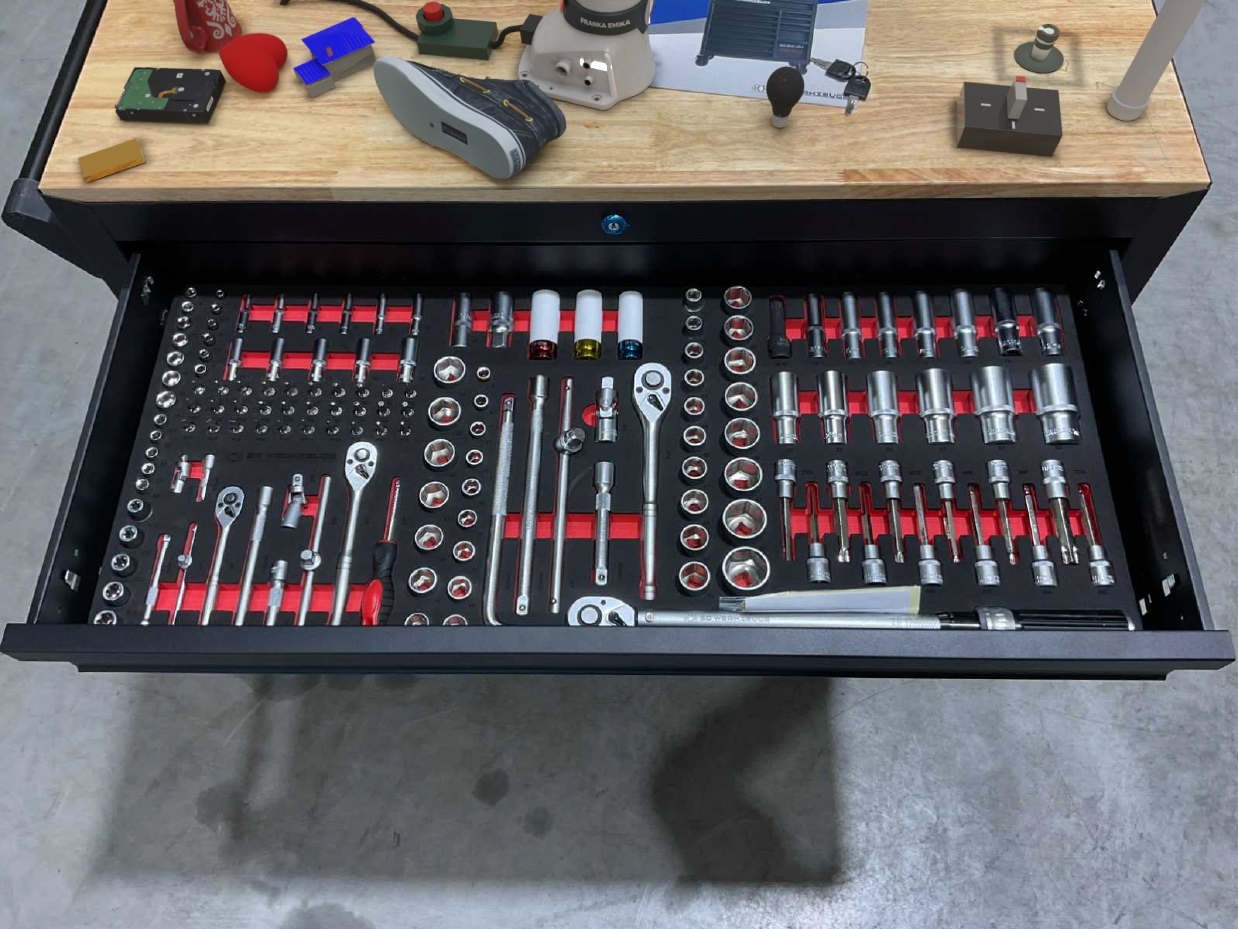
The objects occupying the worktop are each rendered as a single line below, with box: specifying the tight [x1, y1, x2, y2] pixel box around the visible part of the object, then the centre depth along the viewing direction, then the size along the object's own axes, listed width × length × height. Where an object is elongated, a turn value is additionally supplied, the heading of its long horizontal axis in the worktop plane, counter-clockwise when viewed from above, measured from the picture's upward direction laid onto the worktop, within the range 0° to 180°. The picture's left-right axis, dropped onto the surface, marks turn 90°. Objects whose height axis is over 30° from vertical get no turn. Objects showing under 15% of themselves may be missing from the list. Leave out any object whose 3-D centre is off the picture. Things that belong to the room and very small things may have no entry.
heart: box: [218, 32, 289, 94], centre depth 146 cm, size 12×5×10 cm
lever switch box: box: [955, 81, 1063, 158], centre depth 136 cm, size 14×10×4 cm
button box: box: [415, 3, 499, 61], centre depth 149 cm, size 13×8×4 cm, turn 80°
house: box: [292, 16, 377, 99], centre depth 147 cm, size 11×14×6 cm
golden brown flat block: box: [77, 137, 146, 183], centre depth 139 cm, size 9×1×5 cm
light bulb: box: [765, 65, 805, 129], centre depth 135 cm, size 6×6×10 cm
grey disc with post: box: [1014, 23, 1065, 74], centre depth 143 cm, size 12×12×5 cm
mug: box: [172, 0, 243, 53], centre depth 147 cm, size 13×9×14 cm
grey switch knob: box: [1007, 75, 1027, 119], centre depth 132 cm, size 5×2×4 cm, turn 170°
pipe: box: [1106, 0, 1207, 122], centre depth 126 cm, size 6×6×30 cm
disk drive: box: [114, 66, 227, 125], centre depth 145 cm, size 10×3×15 cm
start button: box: [422, 0, 443, 21], centre depth 148 cm, size 3×3×2 cm
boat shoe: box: [372, 55, 567, 180], centre depth 137 cm, size 11×30×14 cm
